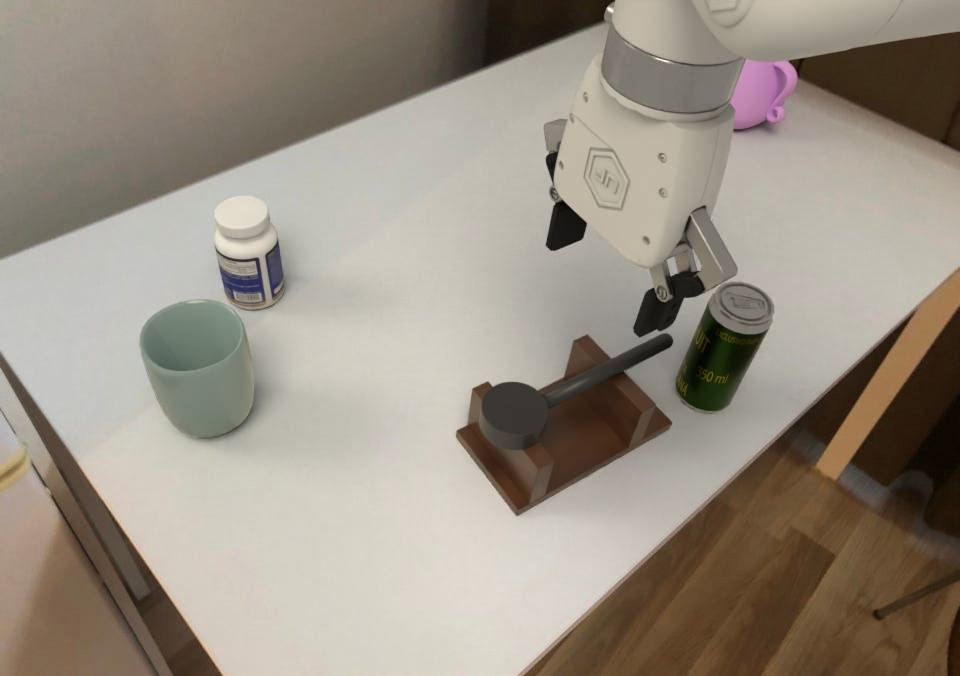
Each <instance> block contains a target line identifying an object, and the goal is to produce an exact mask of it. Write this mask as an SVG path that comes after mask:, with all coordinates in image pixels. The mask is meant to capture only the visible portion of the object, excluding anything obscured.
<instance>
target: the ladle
mask: <svg viewBox="0 0 960 676" xmlns="http://www.w3.org/2000/svg"><path fill="white" fill-rule="evenodd" d="M673 344H674V338H673V336H672V335H671V334H670V333H667V332H663V333H660V334H658V335H656V336H654V337H652V338H650V339H648V340H646V341H644V342H642V343H640V344H638V345H636V346H634V347H632V348H630V349H628V350H626V351H624V352H622V353H620V354H618V355H615V356H614V357H611V359H610V360H608V361H606V362H604V363H602V364H600V365H598V366H596V367H594V368H592V369H590V370H588V371H586V372H584V373H582V374H580V375H578V376H576V377H574V378H572V379H570V380H568V381H566V382H564V383H562V384H560V385H558V386H556V387H554V388H552V389H550V390H548V391H546V392H544V393H542V394H541V393H540V392H539V391H538V390H539V389H536V388H535V387H534V386H532V385H529V384H527V383H524V382H521V381H520V382H519V381H504V382H500V383H498V384H495V385H494V386H493V385H492V386H493V387H492V388H491V389H489V390H488V391H487V392H486V394H485V395H484V397H483V399H482V404H481V410H480V417H479V424H480V428H481V431H482V433H483V434H484V436H485V437H486V438H487V439H488V440H489V441H490V442H491V443H493V444H494V445H496V446H498V447H500V448H503V449H507V450H523V449H527V448H529V447H532V446H533V445H535V444H536V443H537V442H538V441H539V440H540V439H541V438H542V436H543V434H544V431H545V427H546V423H547V419H548V415H549V409H551V408H553V407H555V406H557V405H559V404H561V403H563V402H565V401H567V400H569V399H571V398H573V397H575V396H577V395H579V394H580V393H582V392H584V391H586V390H588V389H590V388H592V387H594V386H596V385H598V384H600V383H602V382H604V381H606V380H608V379H610V378H612V377H614V376H616V375H618V374H620V373H621V372H623V371H624V372H625V371H627V370H630V369H631V368H633V367H635V366H637V365H640V364H641V363H644V362H645V361H647V360H649V359H651V358H653V357H655V356H657V355H658V354H660V353H662V352H664V351H667V350H668V349H670V348H671V347H672V346H673Z"/></svg>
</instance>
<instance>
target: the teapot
mask: <svg viewBox="0 0 960 676" xmlns="http://www.w3.org/2000/svg"><path fill="white" fill-rule="evenodd" d="M797 83H798V73H797V70H796V68H795V67H794V65H793V64H792V63H790V60H787V61H778V62H759V61H753V60H749V59H746V60H745V63H744V66H743V68H742V71H741V74H740V77H739V79H738V82H737V85H736V87H735V90H734V93H733V95H732V98H731V101H730V104H731V105H732V106H733V107H734V108H735V110H736V112H735V120H734V128H733V130H744V129H745V130H746V129H748V128H752V127H755V126H757V125H759V124H761V123H763V122H765V121H767V122H769V123H771V124H780V123H781V122H783V120H785V118H786V114H787V113H786V110H785V108H784V107H783V106H784V104H785V101H786V100H787V98H788V97H789V96H791V94H792V93H793V91H794V90H795V88H796V87H797Z"/></svg>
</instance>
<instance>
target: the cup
mask: <svg viewBox="0 0 960 676" xmlns="http://www.w3.org/2000/svg"><path fill="white" fill-rule="evenodd" d="M138 342H139V343H138V345H139V351H140V356H141V359H142V362H143V366H144V368H145V371H146V372H145V373H146V375H147V377H148V380H149V382H150V386H151V388H152V390H153V394H154V396H155V398H156V400H157V402H158V404H159V406H160V408H161V411H162V412H163V414H164V415H165V417H166V418H167V419H168V420H169V421H170V423H171V424H172V425H173V426H174V427H175V428H176V429H177V430H179V431H180V432H181V433H183V434H185V435H187V436H190V437H194V438H199V439H200V438H202V439H207V438H213V437H214V438H215V437H218V436H222V435H224V434H227V433H229V432H231V431H233V430H234V429H237V428H238V427H239V426H240V425H241V424H242V423H243V422H244V421H245V420H246V419H247V417H248V416H249V414H250V412H251V410H252V407H253V403H254V397H255V377H254V366H253V361H252V354H251V350H250V344H249V340H248V334H247V331H246V327H245V324H244V321H243V320H242V318H241V317H240V315H239V314H238V313H237V312H236V310H235V309H234V308H232V307H231V306H229V304H226V303H224V302H221V301H219V300H215V299H206V298H205V299H204V298H202V299H201V298H197V299H189V300H184V301H180V302H177V303H173V304H170V305H168V306H166V307H164V308H161V309H159V310H158V311H156V312H155V313H154V314H153V315H151V316H150V317H149V318H148V319H146V321H145V323H144V325H142V328H141V330H140V333H139V341H138Z"/></svg>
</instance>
